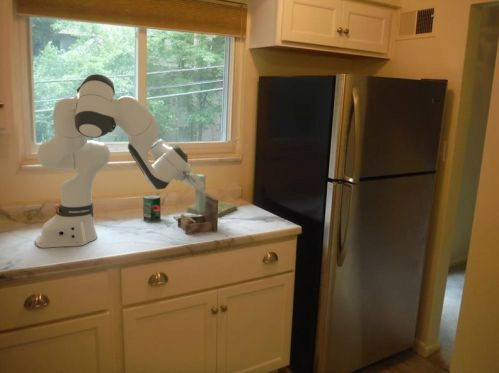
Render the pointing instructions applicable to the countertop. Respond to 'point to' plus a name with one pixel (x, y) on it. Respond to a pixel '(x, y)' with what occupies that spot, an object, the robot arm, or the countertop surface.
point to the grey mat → (185, 215)
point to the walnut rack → (204, 218)
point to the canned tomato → (151, 208)
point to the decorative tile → (222, 209)
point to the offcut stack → (186, 221)
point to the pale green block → (200, 196)
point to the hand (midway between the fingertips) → (201, 191)
